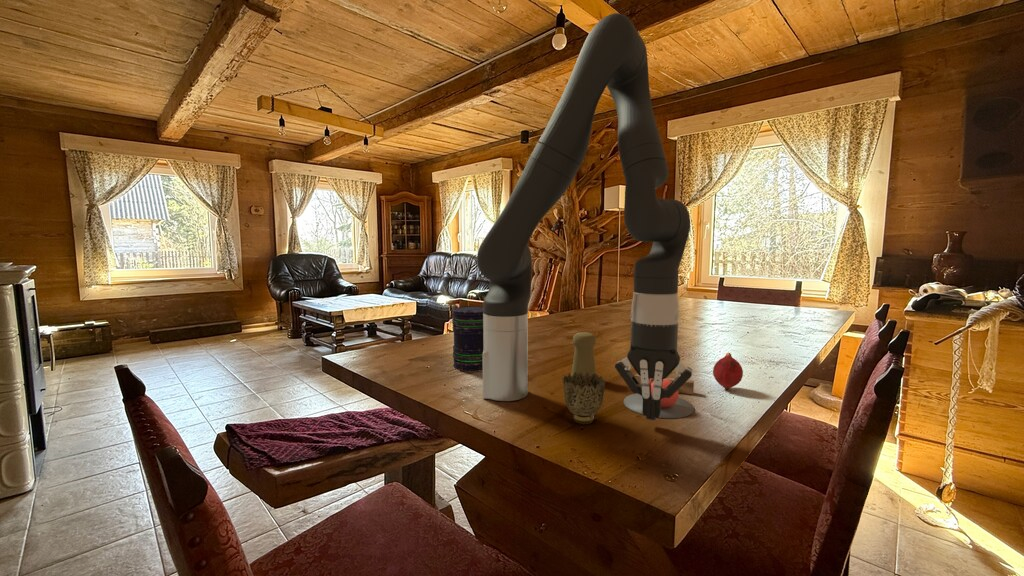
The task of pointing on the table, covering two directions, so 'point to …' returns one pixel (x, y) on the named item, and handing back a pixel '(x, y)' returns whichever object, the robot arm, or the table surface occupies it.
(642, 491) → the table surface
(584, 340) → the pestle
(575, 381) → the cup
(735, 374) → the onion
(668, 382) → the ball
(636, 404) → the gray disc
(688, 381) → the stopper rail
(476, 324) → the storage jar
